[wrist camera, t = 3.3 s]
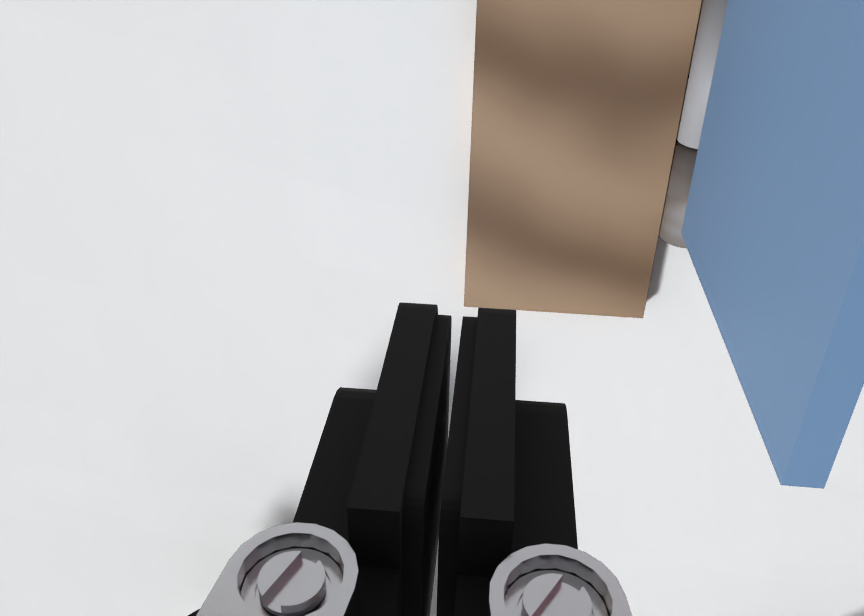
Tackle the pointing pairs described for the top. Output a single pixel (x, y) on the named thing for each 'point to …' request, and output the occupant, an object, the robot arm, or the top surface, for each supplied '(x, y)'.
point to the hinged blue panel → (782, 213)
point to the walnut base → (576, 151)
